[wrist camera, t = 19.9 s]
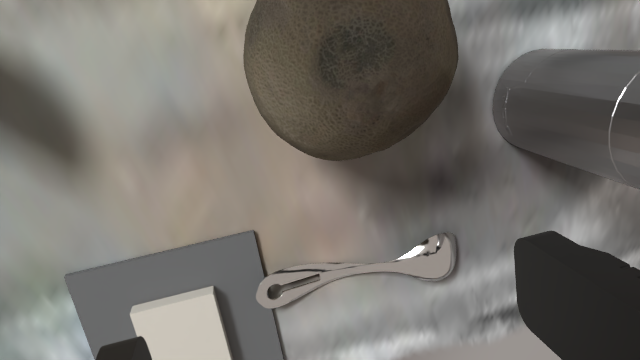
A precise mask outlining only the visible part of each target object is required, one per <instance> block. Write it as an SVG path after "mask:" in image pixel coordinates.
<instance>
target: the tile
mask: <svg viewBox="0 0 640 360" xmlns="http://www.w3.org/2000/svg"><path fill="white" fill-rule="evenodd" d="M130 317H131V320H132V323H133V326H134V329H135V332H136V335H137V337H139V336H142V337H143V338H144V339H145V341H146V343H147V346H148V348H149V351H150V354H151V357H152V360H233V357H232V353H231V350H230V346H229V342H228V338H227V335H226V331H225V327H224V324H223V320H222V316H221V313H220V309H219V305H218V301H217V298H216V294H215V290H214V287H213V286H210V287H206V288H202V289H198V290H194V291H190V292H186V293H182V294H178V295H174V296H170V297H166V298H162V299H158V300H154V301H150V302H146V303H142V304H138V305H134V306H132V309H131V312H130Z"/></svg>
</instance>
